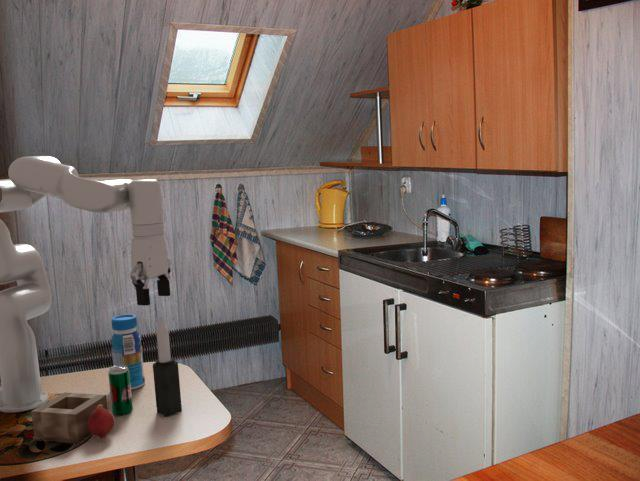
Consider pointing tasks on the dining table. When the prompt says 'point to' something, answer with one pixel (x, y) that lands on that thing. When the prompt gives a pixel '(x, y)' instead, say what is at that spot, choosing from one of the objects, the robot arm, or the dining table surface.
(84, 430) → the well block
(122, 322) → the beverage bottle
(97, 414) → the onion
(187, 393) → the dining table surface
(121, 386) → the soda can
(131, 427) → the dining table surface
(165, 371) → the black handled stick
